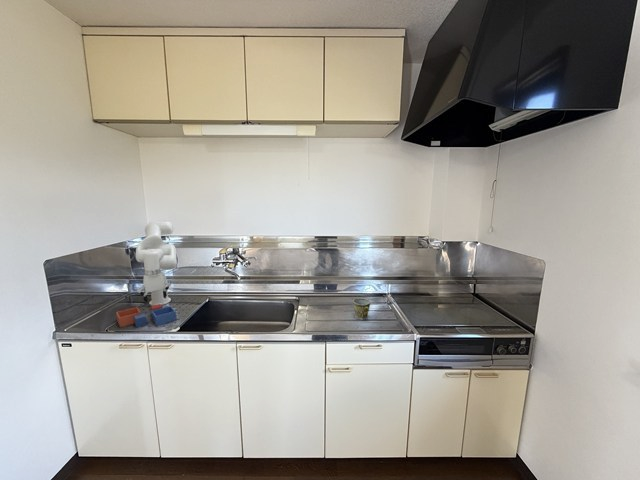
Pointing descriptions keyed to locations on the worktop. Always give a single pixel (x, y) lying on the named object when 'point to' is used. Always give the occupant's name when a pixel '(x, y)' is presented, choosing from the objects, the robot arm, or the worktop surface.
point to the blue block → (140, 320)
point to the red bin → (127, 316)
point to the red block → (156, 307)
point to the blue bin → (163, 315)
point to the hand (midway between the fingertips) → (155, 299)
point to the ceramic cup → (361, 308)
